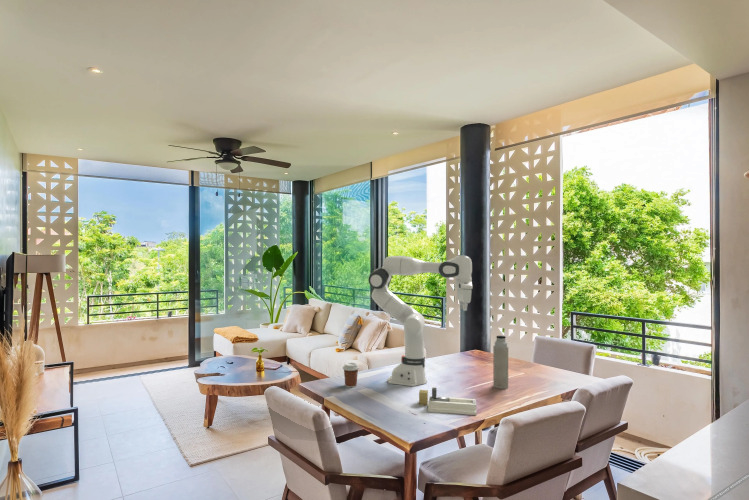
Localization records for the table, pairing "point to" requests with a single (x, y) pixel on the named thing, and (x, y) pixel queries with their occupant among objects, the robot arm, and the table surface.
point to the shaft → (434, 398)
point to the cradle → (453, 406)
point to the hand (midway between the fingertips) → (463, 309)
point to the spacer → (423, 397)
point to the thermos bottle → (500, 363)
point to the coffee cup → (350, 374)
